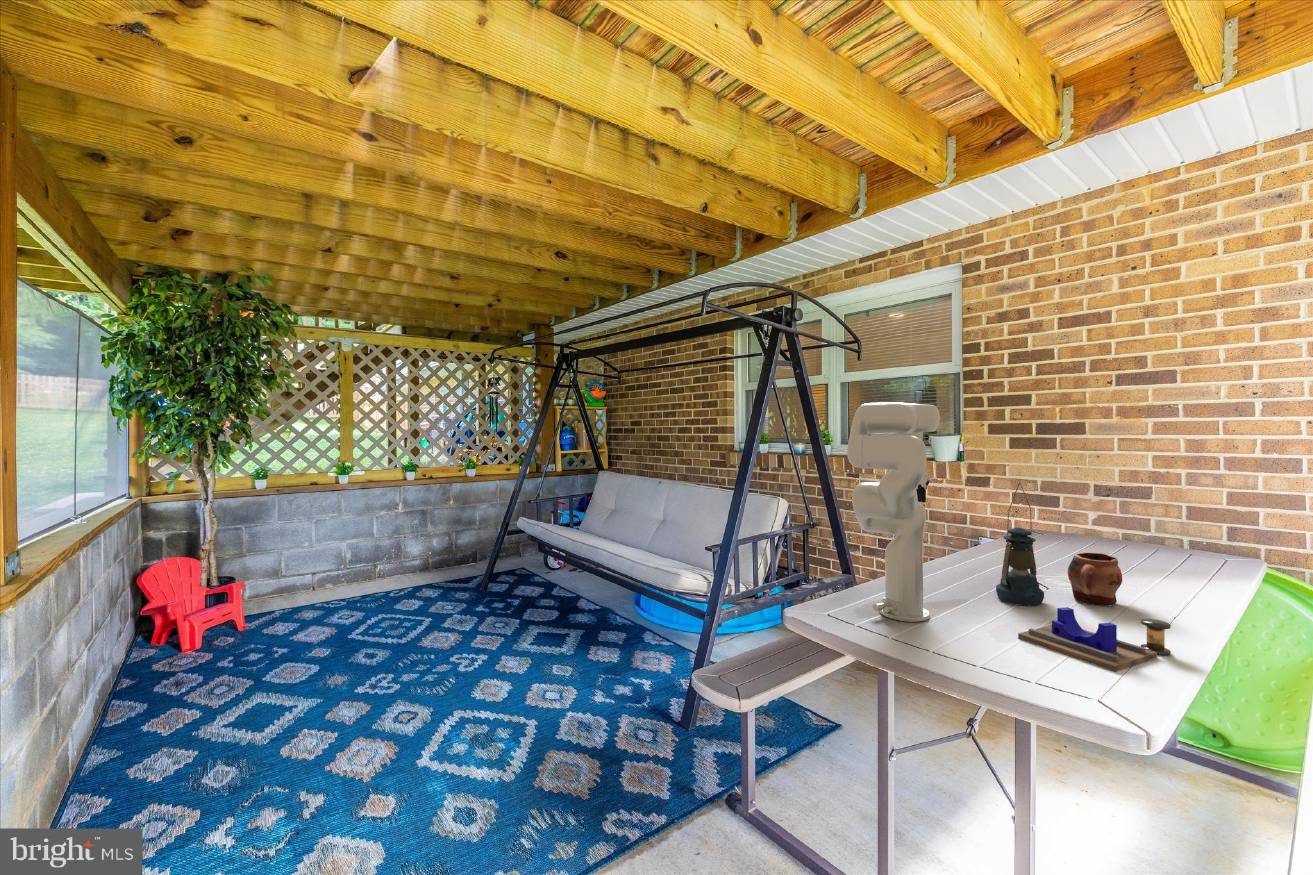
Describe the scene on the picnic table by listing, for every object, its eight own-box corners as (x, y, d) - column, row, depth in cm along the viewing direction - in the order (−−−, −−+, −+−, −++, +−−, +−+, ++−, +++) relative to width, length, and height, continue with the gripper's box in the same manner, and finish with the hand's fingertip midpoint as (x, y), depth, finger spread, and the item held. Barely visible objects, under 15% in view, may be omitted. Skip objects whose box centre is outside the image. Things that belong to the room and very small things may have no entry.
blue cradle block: (1051, 632, 131) (1051, 608, 131) (1068, 631, 132) (1068, 607, 131) (1099, 653, 119) (1099, 626, 119) (1116, 651, 120) (1116, 624, 120)
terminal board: (1115, 671, 113) (1115, 661, 112) (1018, 638, 131) (1018, 629, 131) (1156, 657, 119) (1156, 647, 119) (1058, 627, 137) (1058, 619, 137)
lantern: (1024, 610, 151) (1024, 485, 150) (984, 598, 162) (983, 481, 161) (1056, 602, 156) (1056, 482, 156) (1015, 591, 167) (1014, 479, 167)
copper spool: (1163, 657, 119) (1163, 627, 119) (1135, 649, 124) (1135, 620, 124) (1175, 653, 121) (1175, 624, 121) (1147, 645, 126) (1147, 617, 126)
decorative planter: (1115, 617, 144) (1115, 565, 144) (1059, 606, 153) (1059, 557, 153) (1127, 600, 157) (1127, 553, 157) (1075, 591, 166) (1075, 546, 166)
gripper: (898, 448, 158) (898, 506, 158) (939, 447, 165) (940, 502, 165) (878, 448, 165) (878, 503, 165) (919, 446, 172) (919, 499, 172)
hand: (909, 503), depth 165 cm, fingers open, 9 cm apart
